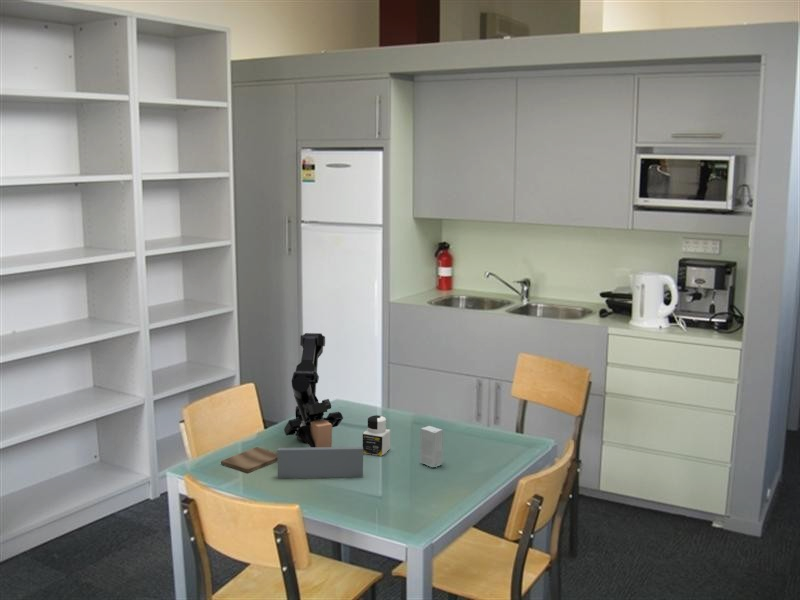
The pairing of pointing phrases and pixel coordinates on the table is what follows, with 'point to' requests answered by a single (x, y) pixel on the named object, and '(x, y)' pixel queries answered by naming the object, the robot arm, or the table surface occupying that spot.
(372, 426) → the medicine bottle
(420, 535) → the table surface
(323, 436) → the terracotta block
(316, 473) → the slate screen
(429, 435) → the skincare box
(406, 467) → the table surface
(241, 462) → the walnut board
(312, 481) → the table surface
